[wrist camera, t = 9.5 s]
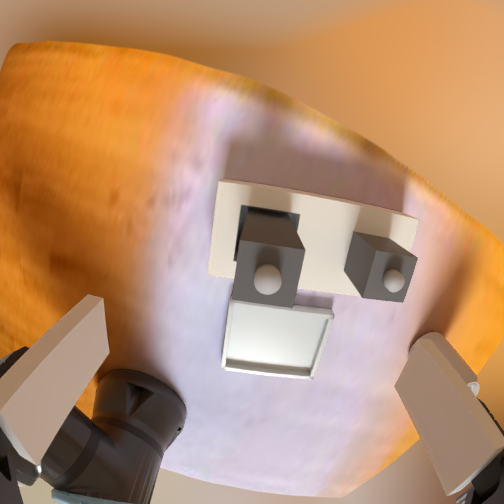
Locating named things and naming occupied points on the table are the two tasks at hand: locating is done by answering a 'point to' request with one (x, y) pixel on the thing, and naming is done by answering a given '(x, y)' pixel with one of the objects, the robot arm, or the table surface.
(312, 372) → the tray
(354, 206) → the strip
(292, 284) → the plug
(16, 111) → the table surface
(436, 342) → the beverage can
